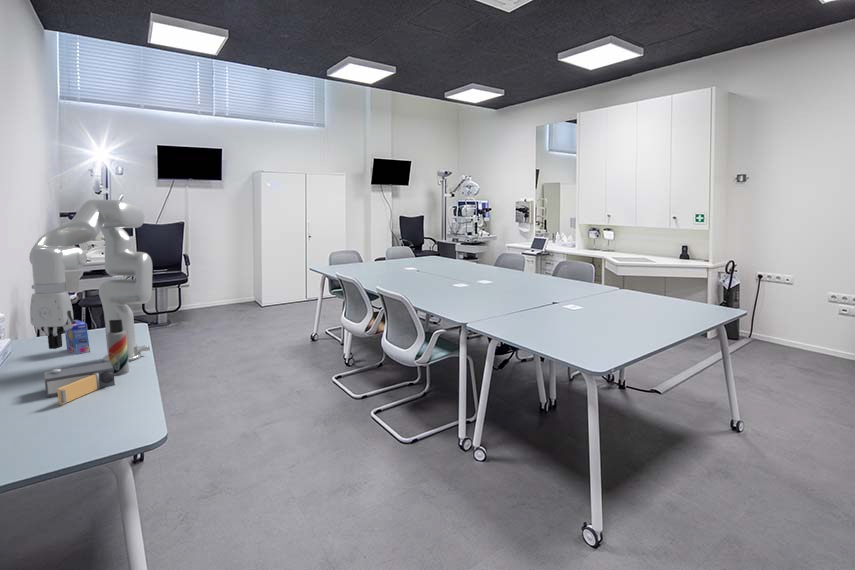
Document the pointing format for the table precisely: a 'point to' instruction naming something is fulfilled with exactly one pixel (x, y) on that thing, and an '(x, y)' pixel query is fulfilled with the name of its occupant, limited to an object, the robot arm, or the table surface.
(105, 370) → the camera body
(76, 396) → the tall beige panel
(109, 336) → the lotion bottle
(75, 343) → the ink cartridge box
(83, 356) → the table surface
